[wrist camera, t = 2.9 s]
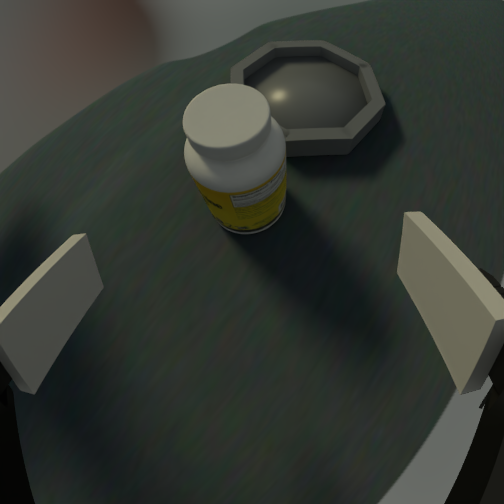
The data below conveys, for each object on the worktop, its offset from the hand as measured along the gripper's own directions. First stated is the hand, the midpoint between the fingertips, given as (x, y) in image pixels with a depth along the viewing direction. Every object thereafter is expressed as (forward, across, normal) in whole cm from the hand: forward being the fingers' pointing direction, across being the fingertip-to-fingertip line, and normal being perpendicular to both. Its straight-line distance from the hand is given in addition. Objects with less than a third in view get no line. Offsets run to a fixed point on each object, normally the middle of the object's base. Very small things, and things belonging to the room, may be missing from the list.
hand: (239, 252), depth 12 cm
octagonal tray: (+22, +5, +5) cm, 23 cm away
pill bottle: (+14, -1, -3) cm, 14 cm away
